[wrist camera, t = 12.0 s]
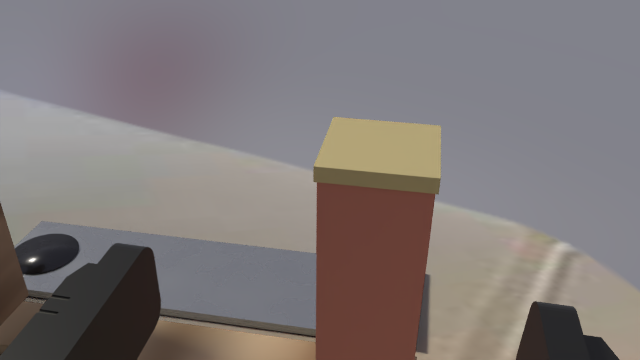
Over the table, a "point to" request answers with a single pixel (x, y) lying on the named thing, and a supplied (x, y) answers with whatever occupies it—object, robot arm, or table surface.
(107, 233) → the flange plate
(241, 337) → the rail
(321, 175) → the sliding leg
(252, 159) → the table surface
